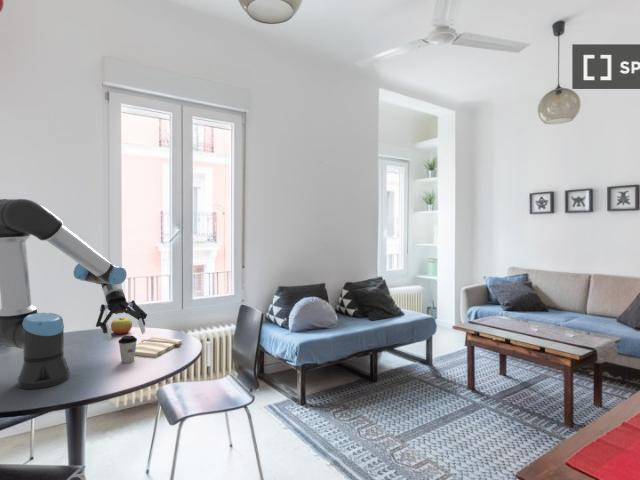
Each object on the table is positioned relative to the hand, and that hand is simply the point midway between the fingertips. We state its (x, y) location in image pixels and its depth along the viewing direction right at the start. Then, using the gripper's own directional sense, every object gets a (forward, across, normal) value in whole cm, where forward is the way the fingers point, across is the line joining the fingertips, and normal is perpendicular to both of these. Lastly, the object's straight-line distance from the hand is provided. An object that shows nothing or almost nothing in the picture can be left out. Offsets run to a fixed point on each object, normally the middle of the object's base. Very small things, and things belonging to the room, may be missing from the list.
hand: (127, 335), depth 162 cm
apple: (-20, -11, -35) cm, 42 cm away
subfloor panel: (+4, -13, -9) cm, 16 cm away
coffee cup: (+10, +2, -3) cm, 11 cm away
